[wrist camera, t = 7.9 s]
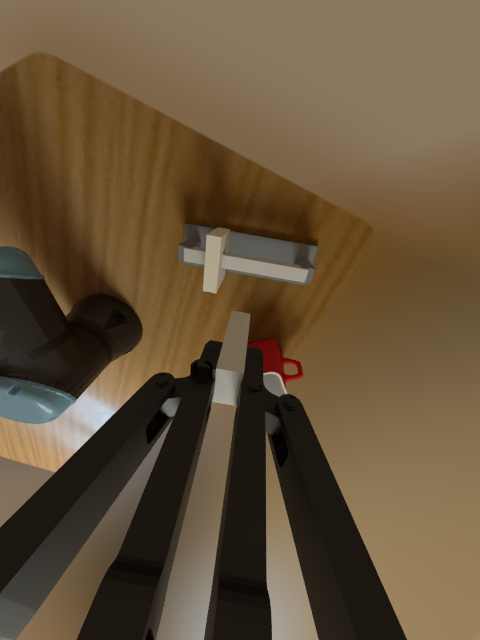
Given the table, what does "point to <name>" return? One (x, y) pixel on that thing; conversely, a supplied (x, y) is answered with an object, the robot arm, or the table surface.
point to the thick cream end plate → (215, 258)
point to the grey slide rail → (253, 255)
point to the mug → (275, 367)
